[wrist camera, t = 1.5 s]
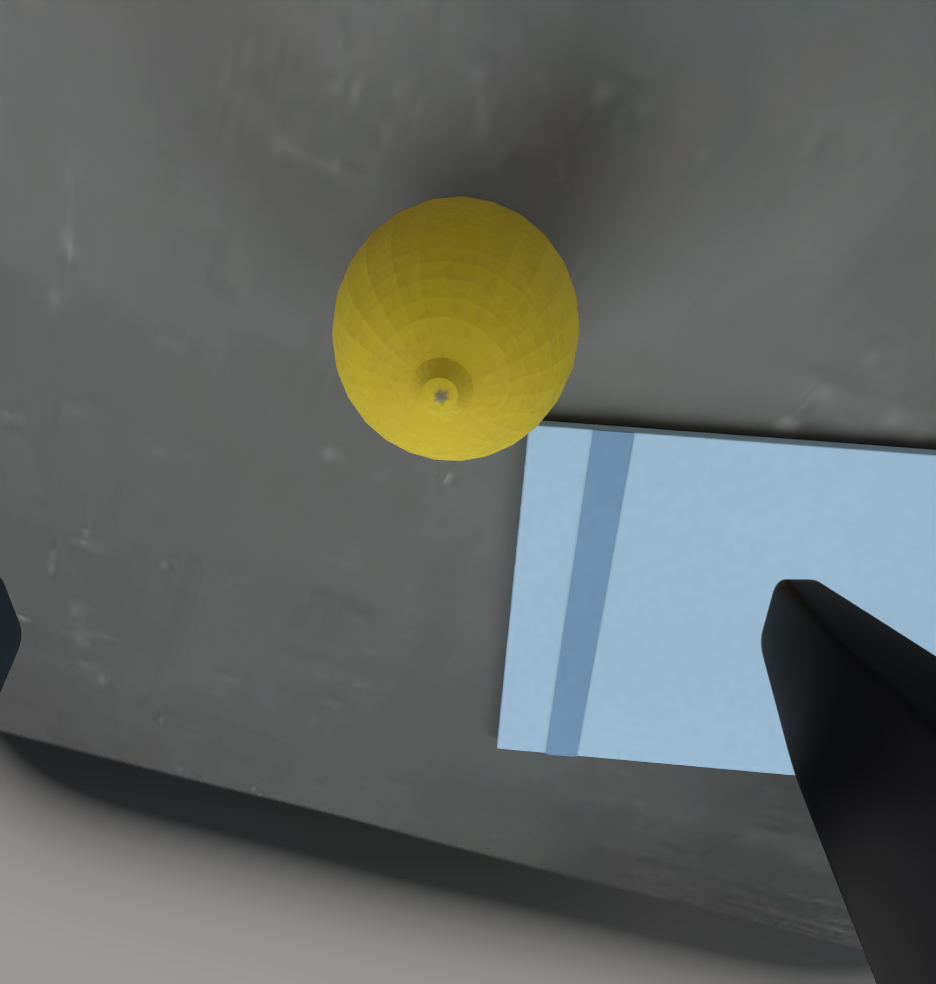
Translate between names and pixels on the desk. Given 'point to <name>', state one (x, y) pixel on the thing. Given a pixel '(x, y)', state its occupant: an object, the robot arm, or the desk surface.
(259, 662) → the desk surface
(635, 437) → the cloth
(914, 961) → the robot arm
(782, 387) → the desk surface
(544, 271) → the lemon
